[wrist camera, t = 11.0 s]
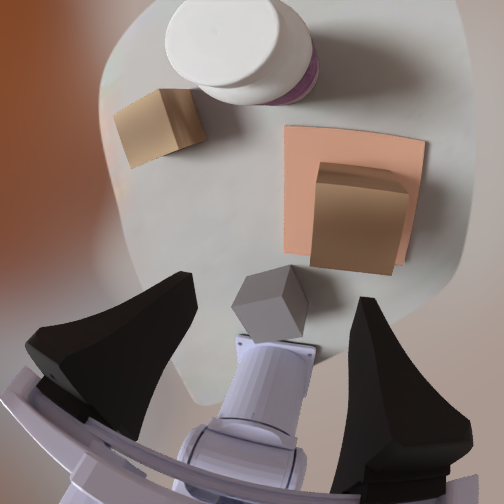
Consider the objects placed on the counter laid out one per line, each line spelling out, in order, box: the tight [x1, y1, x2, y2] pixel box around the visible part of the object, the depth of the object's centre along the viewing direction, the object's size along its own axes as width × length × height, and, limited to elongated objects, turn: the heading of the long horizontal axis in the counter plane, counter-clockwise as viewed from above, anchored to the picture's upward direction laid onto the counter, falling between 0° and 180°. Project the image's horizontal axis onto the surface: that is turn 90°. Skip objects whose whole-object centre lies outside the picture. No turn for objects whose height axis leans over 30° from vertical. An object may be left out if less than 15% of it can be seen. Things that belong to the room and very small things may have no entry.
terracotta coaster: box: [284, 126, 425, 266], centre depth 17 cm, size 9×9×1 cm
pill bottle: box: [165, 0, 319, 106], centre depth 10 cm, size 5×5×10 cm
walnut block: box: [310, 162, 410, 276], centre depth 15 cm, size 4×4×5 cm
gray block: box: [231, 265, 308, 344], centre depth 21 cm, size 4×4×4 cm
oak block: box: [113, 89, 206, 169], centre depth 16 cm, size 4×4×4 cm
